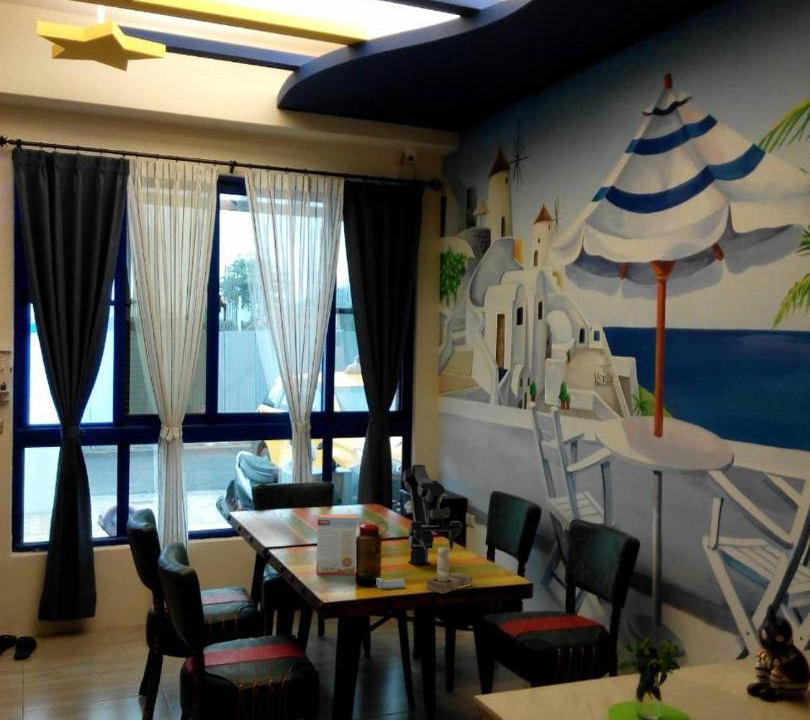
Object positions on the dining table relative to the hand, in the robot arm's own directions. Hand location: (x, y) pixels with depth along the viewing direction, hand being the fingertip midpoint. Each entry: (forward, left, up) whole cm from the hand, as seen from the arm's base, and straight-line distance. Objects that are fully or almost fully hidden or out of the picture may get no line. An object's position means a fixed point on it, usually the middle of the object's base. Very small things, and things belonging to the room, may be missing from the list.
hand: (439, 549), depth 301 cm
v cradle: (+16, -10, -12) cm, 23 cm away
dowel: (+3, +5, -12) cm, 14 cm away
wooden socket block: (-1, +5, -12) cm, 13 cm away
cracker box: (+18, -33, -12) cm, 40 cm away
